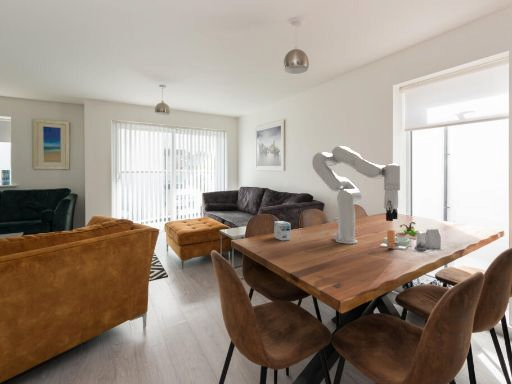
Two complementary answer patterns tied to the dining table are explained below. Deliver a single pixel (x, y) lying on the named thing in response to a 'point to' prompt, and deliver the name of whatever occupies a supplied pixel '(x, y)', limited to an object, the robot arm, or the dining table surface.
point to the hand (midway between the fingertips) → (391, 220)
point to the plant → (408, 232)
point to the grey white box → (432, 238)
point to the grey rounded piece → (420, 241)
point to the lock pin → (391, 238)
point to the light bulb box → (282, 230)
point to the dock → (398, 243)
